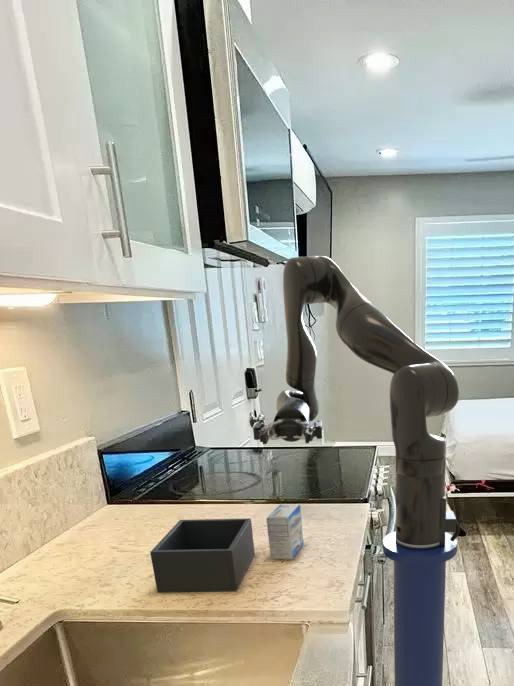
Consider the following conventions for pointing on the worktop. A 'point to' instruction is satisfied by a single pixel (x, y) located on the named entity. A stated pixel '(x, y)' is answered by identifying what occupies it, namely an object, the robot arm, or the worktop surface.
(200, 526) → the storage bin
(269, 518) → the medicine box
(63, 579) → the worktop surface
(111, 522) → the worktop surface
